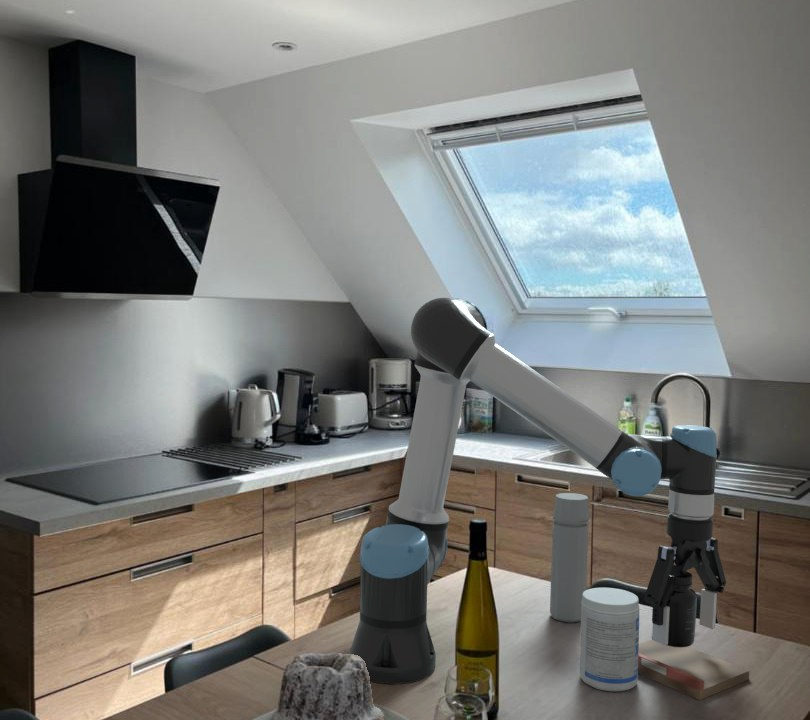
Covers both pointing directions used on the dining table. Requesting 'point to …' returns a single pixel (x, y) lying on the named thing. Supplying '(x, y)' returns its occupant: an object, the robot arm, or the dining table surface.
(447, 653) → the dining table surface
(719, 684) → the beige hardcover book
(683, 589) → the supplement bottle
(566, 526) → the water bottle
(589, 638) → the supplement tub
